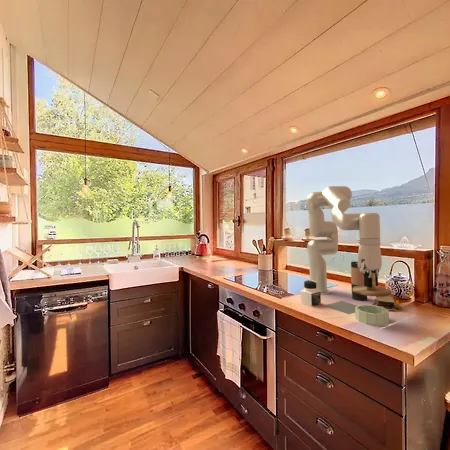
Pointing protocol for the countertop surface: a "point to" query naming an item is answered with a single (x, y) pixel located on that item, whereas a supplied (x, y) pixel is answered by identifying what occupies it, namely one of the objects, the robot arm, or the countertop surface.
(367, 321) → the bowl
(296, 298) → the countertop surface
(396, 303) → the toy sandwich meal
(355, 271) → the travel mug
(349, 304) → the mat
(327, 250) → the robot arm
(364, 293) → the lid
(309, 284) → the medicine bottle
